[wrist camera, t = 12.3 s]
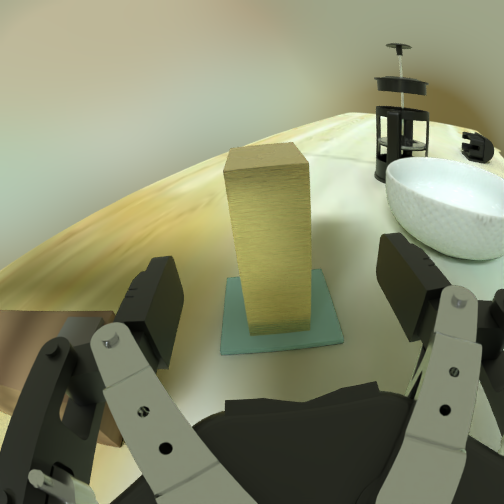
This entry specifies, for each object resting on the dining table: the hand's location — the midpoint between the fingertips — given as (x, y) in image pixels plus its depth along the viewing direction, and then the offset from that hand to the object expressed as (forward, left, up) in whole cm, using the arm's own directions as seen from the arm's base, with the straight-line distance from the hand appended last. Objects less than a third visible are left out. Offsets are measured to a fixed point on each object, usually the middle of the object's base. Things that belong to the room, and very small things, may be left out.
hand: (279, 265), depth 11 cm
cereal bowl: (+20, +14, -9) cm, 26 cm away
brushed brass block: (0, +7, -8) cm, 11 cm away
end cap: (+57, +51, -9) cm, 77 cm away
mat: (0, +7, -9) cm, 11 cm away
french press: (+23, +34, -9) cm, 42 cm away
